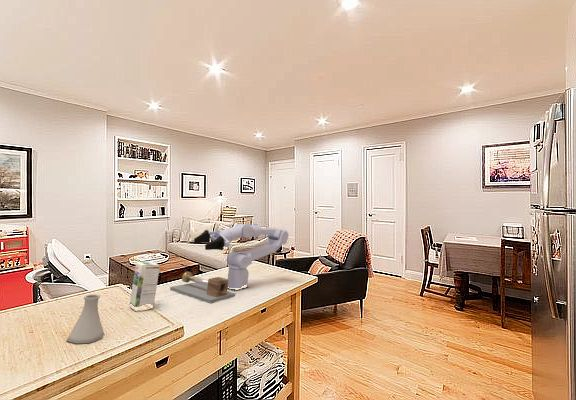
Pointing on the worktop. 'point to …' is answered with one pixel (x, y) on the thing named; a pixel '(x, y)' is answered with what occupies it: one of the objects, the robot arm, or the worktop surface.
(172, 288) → the base board
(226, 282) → the block
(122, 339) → the worktop surface
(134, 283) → the syrup box
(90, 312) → the flask
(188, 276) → the shaft
